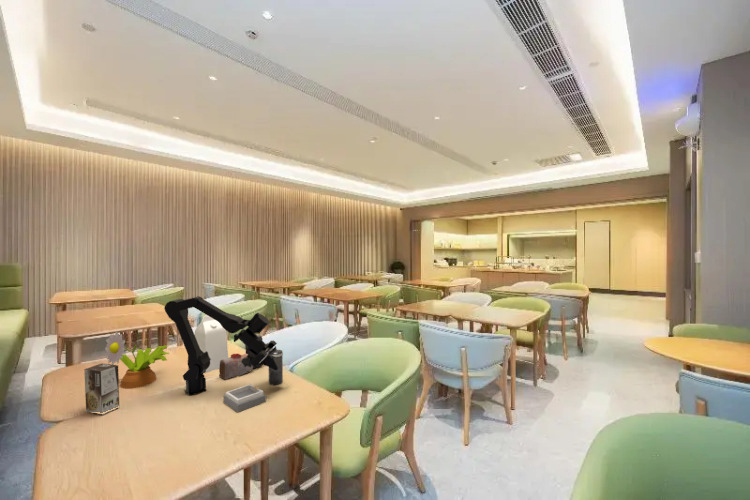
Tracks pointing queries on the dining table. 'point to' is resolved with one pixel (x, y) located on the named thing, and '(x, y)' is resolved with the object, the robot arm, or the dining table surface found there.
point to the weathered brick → (233, 366)
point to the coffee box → (101, 387)
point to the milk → (212, 341)
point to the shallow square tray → (244, 397)
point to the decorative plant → (138, 370)
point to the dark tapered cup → (277, 375)
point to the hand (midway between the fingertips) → (279, 366)
